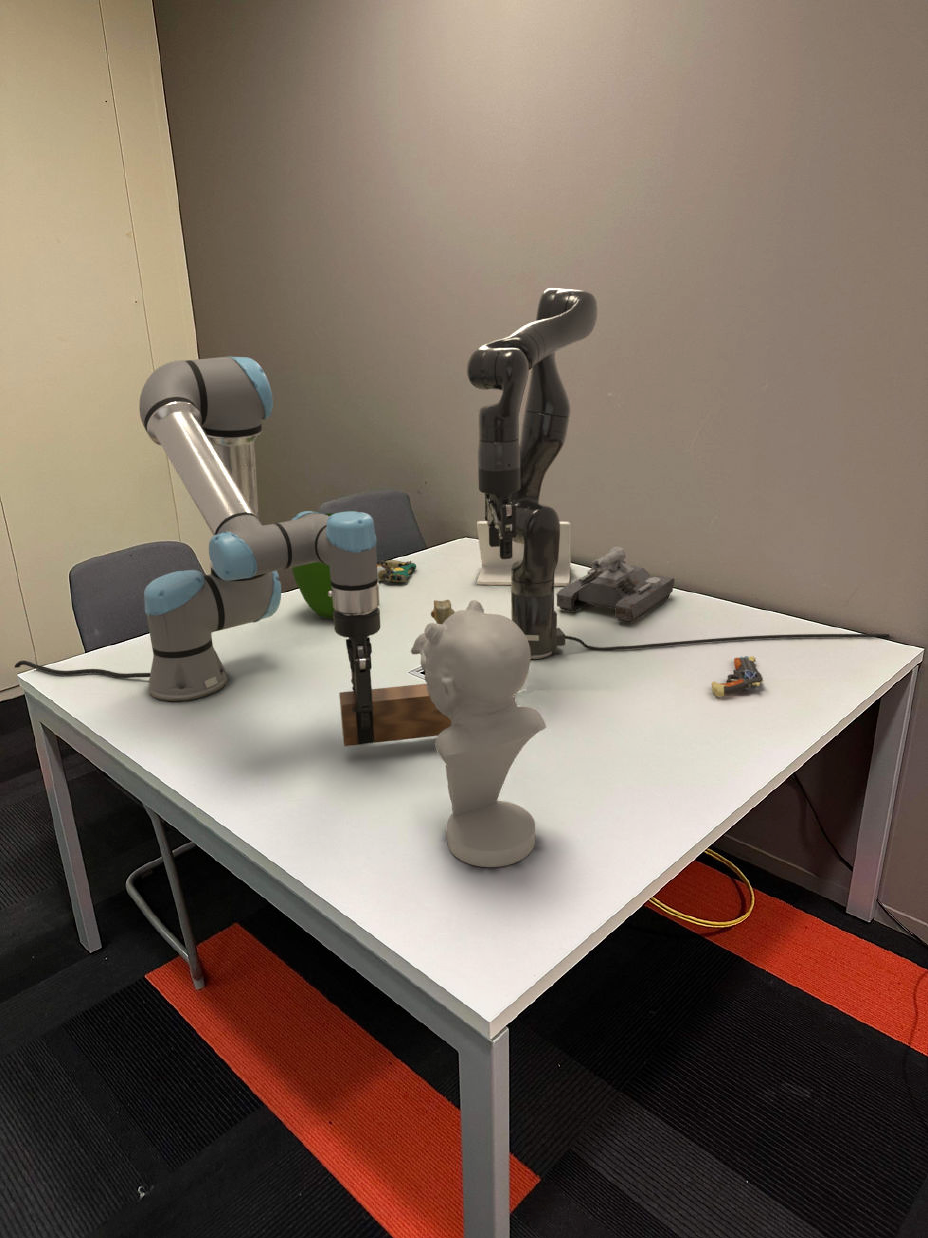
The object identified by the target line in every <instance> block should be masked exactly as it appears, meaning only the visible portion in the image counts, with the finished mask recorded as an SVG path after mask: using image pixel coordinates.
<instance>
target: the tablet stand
mask: <svg viewBox="0 0 928 1238" xmlns="http://www.w3.org/2000/svg"><path fill="white" fill-rule="evenodd" d="M476 531H477V537H478V544H479V551H480V557H481V558H480V559H481V570H480V573H479V575H478V577H477V580H476V581H477V582H476V584H478V585H484V586H485V585H486V586H487V585H489V586H490V585H491V586H511V567H512V564H513V563H514V562H516V561H519V560H522V559H523V552H524V545H522V544H519V543H516V542H513V541H512V558H511V559H501V558H500V546H499V547H491V546H490V545H489V527H488V525H487V521H486V520H477V522H476ZM571 560H572V558H571V522H569V521H560V542H559V557H558V563H557V566H556V568H555V572H554V587H556V586H557V587H566V586H567V585H569V584H570V580H571V579H570V578H571V565H572V564H571Z"/></svg>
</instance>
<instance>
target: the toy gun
mask: <svg viewBox="0 0 928 1238" xmlns="http://www.w3.org/2000/svg"><path fill="white" fill-rule="evenodd" d="M756 662H757V658H756V657H755V656H753V655H752V656H747V655H745V656H744V657H743V656H740V657H734V658H733V664H734V668H735V669H733V670H732V671H733V673H732V674H731V673H730V674H728V675H727V679H726V682H722V683H721V682H720V683H718V682H717V681H712V682H711V691H712V693H713V695H714V696H715V697H719V698H720V697H724V696H728V695H731V694H735V693H737V692H741V691H745V690H746V689H750V688H752V687H754V686H756V687H760V685H761V683H763V682H765V680H764V679H763V676H762V673H760V671H758V669H757V666H756V664H755V663H756Z"/></svg>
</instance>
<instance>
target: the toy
mask: <svg viewBox="0 0 928 1238" xmlns="http://www.w3.org/2000/svg"><path fill="white" fill-rule="evenodd" d="M626 557H627V556H626V551H625V549H624V548H622V547H621V546H614V547H612V548H611V549H610V550H609V552H608V553H607V554H605V555H604V556H601V557H599V558H598V559H597V557H596V558H594V559H593V560H592V561H590V562H589V563H590V564H591V565H592V567H591V568H590V569H589V570H587V573H586V575H584V576H582V577H580V578H578V579H577V580H575V581H573V582H570V583H569V585H567V586H563V587H562V588H560V589H559V590H558V591H557V592H556V607H558V608H559V609H560V610H562V611H566V612H572V613H575V612H577V611H579V610H581V609H582V608H585V607H586V606H588V605H592V606H598V607H602V608H603V607H604V608H609V609H613V610H614V618H615V619H617V620H618V621H621V622H626V623H631V624H634V623H635V622H637V621H638V620H640V619H641V618H642V617H644V616H645V615H647V614H648V613H650V612H651V611H652V610H654V609H655V608H657V607H659V606H660V605H661V604H663V603H664V602H666V601H667V600H669V598H670V596H671V594H672V593H673V591H674V585H675V580H676V579H675V578H673V577H668V576H663V575H656V576H655V577H654V576H651V574H650V573H649V572H648V571H647V570H646V568H644V567H641V566H635V565H629V564H628V563H627V562H626V561H625V559H626Z"/></svg>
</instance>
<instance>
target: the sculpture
mask: <svg viewBox="0 0 928 1238" xmlns="http://www.w3.org/2000/svg"><path fill="white" fill-rule="evenodd" d="M455 612H456V611H455V609H453V608H452V602H451V601H450V599H445V600H433V610H431V612H430V617H431V618H432V619H433V620H434V621H435V622H436V623H435V624H443V623H444V622H445V620H446V619H447V618H448V617H450V616H451V615H452V614H453V613H455Z"/></svg>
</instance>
